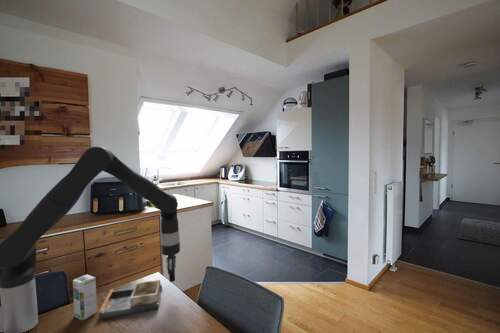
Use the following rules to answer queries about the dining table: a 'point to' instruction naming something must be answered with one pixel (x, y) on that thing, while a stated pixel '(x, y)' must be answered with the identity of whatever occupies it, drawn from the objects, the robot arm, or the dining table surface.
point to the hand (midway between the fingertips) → (172, 280)
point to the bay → (123, 304)
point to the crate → (145, 293)
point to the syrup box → (84, 296)
